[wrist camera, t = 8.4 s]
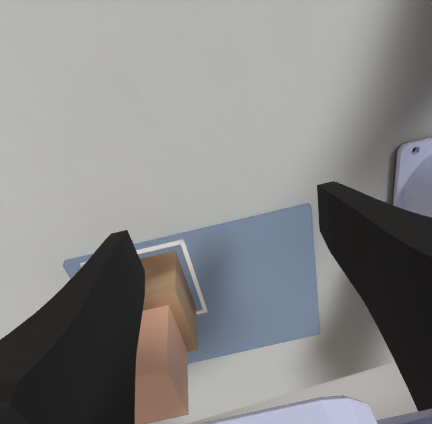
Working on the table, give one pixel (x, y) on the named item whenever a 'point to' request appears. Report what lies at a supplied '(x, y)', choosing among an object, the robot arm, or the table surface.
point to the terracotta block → (160, 368)
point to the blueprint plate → (245, 280)
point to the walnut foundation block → (171, 293)
